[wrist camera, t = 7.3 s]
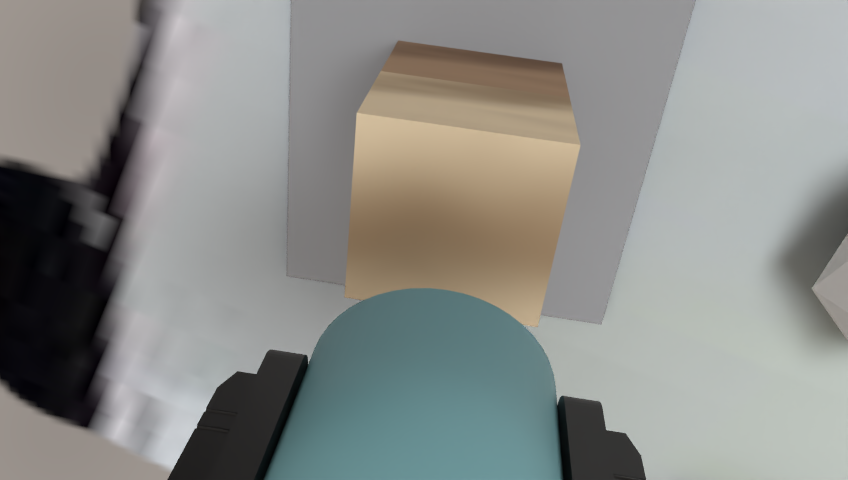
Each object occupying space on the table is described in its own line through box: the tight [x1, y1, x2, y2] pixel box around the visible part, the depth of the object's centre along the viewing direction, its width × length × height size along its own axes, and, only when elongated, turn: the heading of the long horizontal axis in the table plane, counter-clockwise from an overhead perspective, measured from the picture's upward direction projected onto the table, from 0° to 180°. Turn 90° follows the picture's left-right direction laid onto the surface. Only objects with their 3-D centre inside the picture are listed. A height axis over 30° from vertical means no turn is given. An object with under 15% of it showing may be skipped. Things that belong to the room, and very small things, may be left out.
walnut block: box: [381, 40, 570, 98], centre depth 26 cm, size 6×6×4 cm
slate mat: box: [287, 0, 696, 324], centre depth 28 cm, size 16×14×1 cm
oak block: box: [345, 71, 580, 327], centre depth 22 cm, size 6×6×4 cm
